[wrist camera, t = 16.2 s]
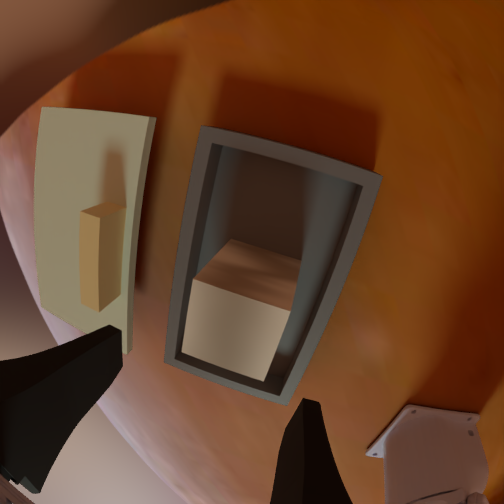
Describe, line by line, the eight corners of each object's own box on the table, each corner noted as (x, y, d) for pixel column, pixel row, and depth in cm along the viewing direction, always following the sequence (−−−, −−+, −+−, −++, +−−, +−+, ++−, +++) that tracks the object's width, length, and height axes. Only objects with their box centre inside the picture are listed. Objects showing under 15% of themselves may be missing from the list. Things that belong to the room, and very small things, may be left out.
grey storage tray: (374, 171, 16) (382, 176, 14) (291, 383, 23) (286, 405, 20) (216, 127, 17) (201, 125, 15) (177, 343, 24) (163, 362, 22)
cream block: (301, 260, 19) (290, 311, 13) (280, 320, 20) (263, 381, 15) (231, 238, 19) (193, 278, 14) (217, 299, 21) (181, 352, 15)
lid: (156, 117, 15) (122, 115, 12) (132, 348, 22) (109, 374, 19) (49, 107, 17) (15, 107, 13) (47, 303, 23) (22, 320, 20)
